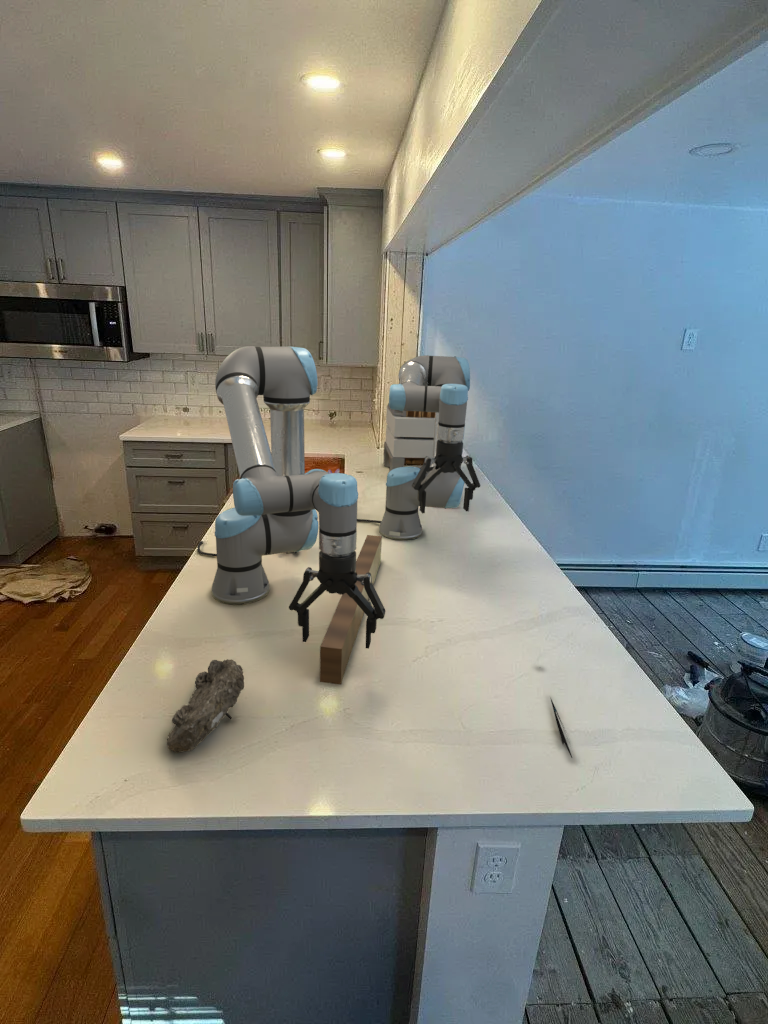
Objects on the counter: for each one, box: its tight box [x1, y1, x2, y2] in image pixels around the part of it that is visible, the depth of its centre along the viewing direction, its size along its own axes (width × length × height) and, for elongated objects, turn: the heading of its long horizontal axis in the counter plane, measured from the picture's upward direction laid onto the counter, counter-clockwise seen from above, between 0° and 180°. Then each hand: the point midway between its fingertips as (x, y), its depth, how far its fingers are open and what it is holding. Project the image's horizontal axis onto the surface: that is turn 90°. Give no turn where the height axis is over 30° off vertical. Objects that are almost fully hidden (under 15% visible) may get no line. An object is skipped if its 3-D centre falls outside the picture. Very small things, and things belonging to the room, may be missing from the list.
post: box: [319, 534, 383, 685], centre depth 147 cm, size 62×5×9 cm, turn 173°
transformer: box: [383, 402, 464, 472], centre depth 268 cm, size 34×33×41 cm
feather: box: [539, 666, 573, 758], centre depth 114 cm, size 2×28×2 cm
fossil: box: [166, 658, 245, 754], centre depth 106 cm, size 22×10×15 cm
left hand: (336, 642), depth 122 cm, fingers open, 13 cm apart
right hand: (444, 511), depth 167 cm, fingers open, 13 cm apart
